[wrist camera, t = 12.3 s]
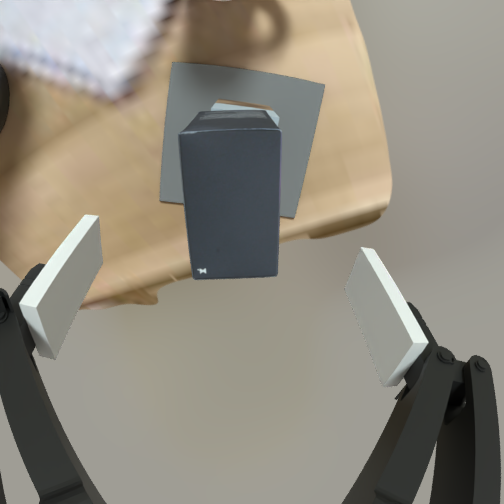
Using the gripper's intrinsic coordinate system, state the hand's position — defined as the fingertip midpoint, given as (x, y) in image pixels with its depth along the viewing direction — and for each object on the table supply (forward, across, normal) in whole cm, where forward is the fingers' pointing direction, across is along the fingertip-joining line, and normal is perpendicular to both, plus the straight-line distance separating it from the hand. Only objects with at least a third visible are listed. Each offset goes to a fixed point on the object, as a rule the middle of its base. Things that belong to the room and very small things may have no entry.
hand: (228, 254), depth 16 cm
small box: (+16, 0, 0) cm, 16 cm away
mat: (+26, +1, 0) cm, 26 cm away
